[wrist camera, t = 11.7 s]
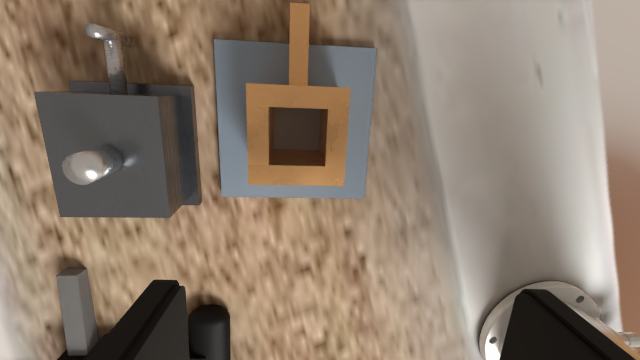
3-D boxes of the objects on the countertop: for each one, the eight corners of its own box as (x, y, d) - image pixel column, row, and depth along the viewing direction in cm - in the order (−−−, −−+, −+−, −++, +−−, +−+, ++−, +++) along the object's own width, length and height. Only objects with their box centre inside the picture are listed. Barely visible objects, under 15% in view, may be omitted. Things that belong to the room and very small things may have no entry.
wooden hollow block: (342, 13, 22) (357, -10, 17) (333, 166, 26) (344, 186, 20) (255, 7, 22) (243, -19, 17) (257, 164, 25) (248, 184, 20)
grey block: (190, 39, 23) (141, 15, 15) (201, 201, 26) (166, 245, 19) (68, 32, 22) (-45, 3, 15) (96, 200, 25) (17, 245, 18)
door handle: (-31, 280, 24) (3, 440, 28) (227, 281, 26) (229, 431, 30) (6, 260, 28) (33, 406, 31) (234, 262, 29) (235, 399, 33)
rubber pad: (375, 49, 24) (377, 48, 23) (362, 196, 27) (364, 198, 27) (215, 40, 23) (213, 39, 22) (223, 194, 26) (221, 196, 26)
